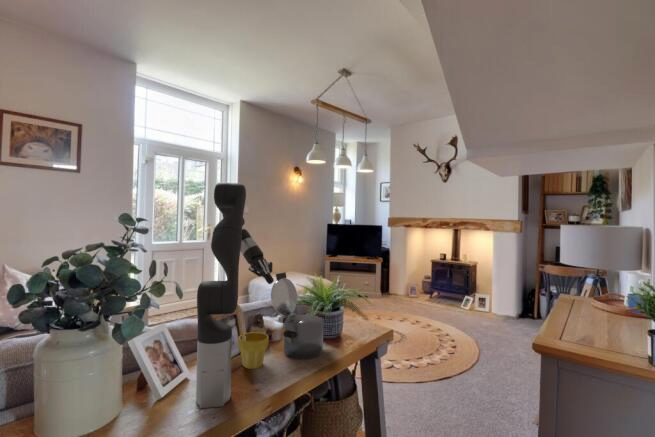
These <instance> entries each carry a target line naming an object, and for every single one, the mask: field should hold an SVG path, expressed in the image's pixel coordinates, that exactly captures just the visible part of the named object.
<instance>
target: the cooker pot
mask: <svg viewBox="0 0 655 437" xmlns="http://www.w3.org/2000/svg"><path fill="white" fill-rule="evenodd" d="M277 320H278V323H281V324H283V325H284V327H283V354H284V355H285V356H287V357H288V358H291V359H293V360H294V359H295V360H311V359H316V358H318V357H320V356H322V355H323V351H324V347H323V346H324V319H323V318H322V317H320V316H319V315H312V314H296V313H294V312H292V313H291V314H290V315H287V317H286V316H282V315H280V316H278V319H277Z"/></svg>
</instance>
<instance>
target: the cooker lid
mask: <svg viewBox="0 0 655 437" xmlns="http://www.w3.org/2000/svg"><path fill="white" fill-rule="evenodd" d="M286 273H287V272H285V271H283V272H279V273H275V278H276V281H274V282H273V285H272V287H271V290H270V300H271V302H270V303H271V305H272V308H273V309H274V311H275V312H276V313H277V315H280V316H283V317H286V316H288V315H290V314H291V313H294V311H295V310H296V308H297V305H298V304H297V303H298V293H297V288H296V286H295V285H294V283H293V281H291V279H288V278H287V274H286Z"/></svg>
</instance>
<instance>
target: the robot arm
mask: <svg viewBox="0 0 655 437" xmlns="http://www.w3.org/2000/svg"><path fill="white" fill-rule="evenodd" d="M246 200H247V190H246V187H245V185H244V184H242V183H239V182H225V181H224V182H223V181H221V182H218V183H216V184H215V186H214V190H213V201H214V205H215V207H216V208H217V209H218V210H219V211H220V212H221V214H222V219H221V220H220V221H218V223H217V224H216V225H215V227H214V228H213V231H212V235H211V236H212V237H211V242H210V250H211V252H212V254H213V256H214V257H215V260H217V261H218V263H219V264H220V265H221V267H222V269H223V271H224V273H225V275H226V278H227V280H205V281H202V282H200V283H199V284H198V288H197V292H196V293H197V294H196V311H197V313H196V314H197V337H196V339H197V344H196V346H197V348H196V349H197V350H196V382H195V383H196V384H195V385H196V386H195V387H196V388H195V389H196V391H195V396H196V397H195V401H196V404H197V405H198V406H199V409H207V408H218V407H224V406H225V404H226V403H227V402H229V401H230V399H231V392H232V391H231V389H232V387H231V385H232V382H231V381H232V347H233V346H232V344H233V343H232V342H233V341H232V340H233V337H232V336H233V329H232V326H231V325H229V324H227V323H224V322H222V321H219V320H217V319H216V318H215V317H213V316H212V315H230V314H233V313H235V311H236V310H237V307H238V303H239V302H238V301H239V269H240V268H239V265H240V258H241V257H240V256H241V255H242V256H243V257H244V259H245V261H246V263H247V264H249V265H250V266H249V268H248V271H249V272H251V273H253V274H255V275H256V276H257V277H262V278H264V279H265V281H266V283H267V284H268V285H272V284H274V283H275V280H274V277H273V276H272V273H273V262H272V261H270V262H269V261H267V260H266V258H264V252H263V251H262V250H261V248H260V247H259V244H257V242H256V241H255V239H254V238H253V237H252V235H251V234H250V232H249V231H248V230H247V229H245V228H243V227H244V225H245V224H246V222H245V219H244V213H245V205H246Z"/></svg>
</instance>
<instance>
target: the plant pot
mask: <svg viewBox="0 0 655 437" xmlns="http://www.w3.org/2000/svg"><path fill="white" fill-rule="evenodd" d="M244 334H245V336H246V341H243V340H242V334H240V335H239V336H238V339H237V340H238V341H237V346H238V349H239V350H240V355H241V356H242V357H241V362H242V366H243V367H244V368H246V369H248V370H249V369H250V370H253V369H258V368H261V367H262V366H263V364H264V359H265V354H266V350H267V348H268V347H269V339H270V338H269V335H268V334H267V333H266V334H265V333H260V332H250V331H249V332H244Z"/></svg>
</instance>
